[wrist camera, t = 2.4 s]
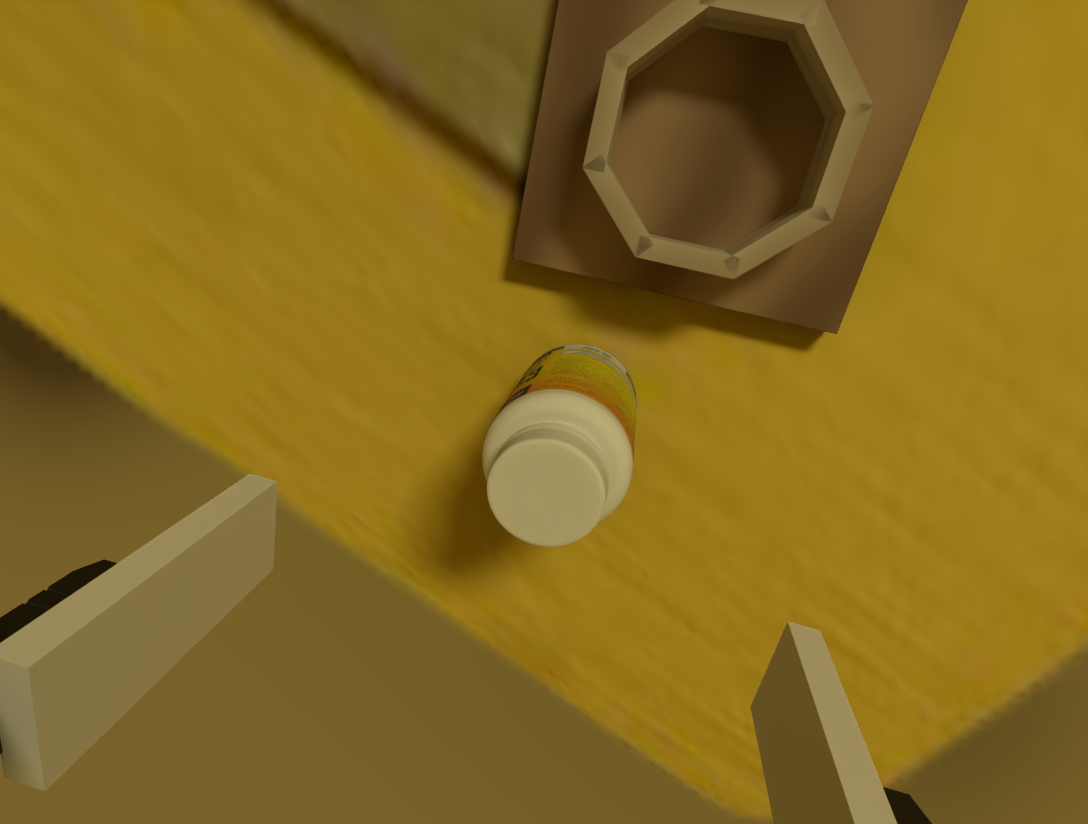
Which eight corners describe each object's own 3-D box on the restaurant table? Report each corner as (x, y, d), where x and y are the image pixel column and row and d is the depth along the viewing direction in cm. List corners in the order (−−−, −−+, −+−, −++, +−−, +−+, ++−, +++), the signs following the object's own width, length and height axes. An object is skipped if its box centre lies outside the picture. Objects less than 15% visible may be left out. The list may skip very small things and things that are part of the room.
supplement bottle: (547, 321, 28) (496, 386, 18) (656, 370, 28) (662, 459, 18) (505, 423, 30) (440, 527, 20) (607, 468, 30) (589, 594, 20)
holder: (517, 256, 27) (498, 264, 24) (575, -61, 23) (563, -107, 19) (828, 328, 26) (856, 348, 23) (951, 9, 22) (1009, -27, 18)
